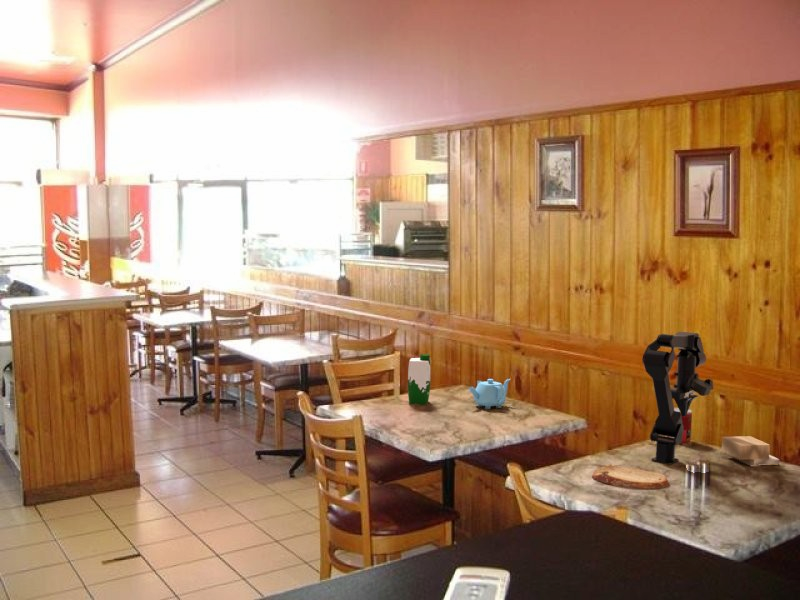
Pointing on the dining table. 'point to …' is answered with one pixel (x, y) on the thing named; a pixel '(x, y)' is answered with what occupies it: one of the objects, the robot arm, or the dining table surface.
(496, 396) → the teapot
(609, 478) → the bread slice
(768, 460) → the board
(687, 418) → the canned food
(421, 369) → the milk carton
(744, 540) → the dining table surface
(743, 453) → the light brown wooden block
